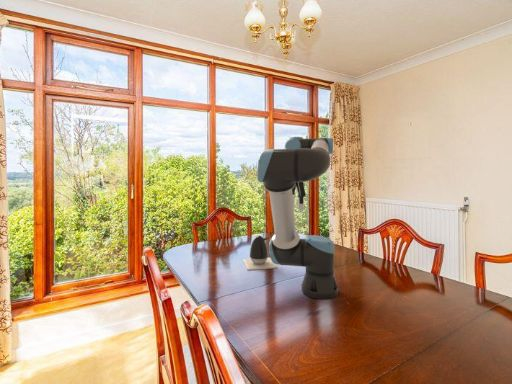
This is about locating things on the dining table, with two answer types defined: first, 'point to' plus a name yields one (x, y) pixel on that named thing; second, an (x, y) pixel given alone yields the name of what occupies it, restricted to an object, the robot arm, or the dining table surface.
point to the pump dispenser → (259, 250)
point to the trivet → (253, 266)
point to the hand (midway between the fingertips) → (296, 208)
